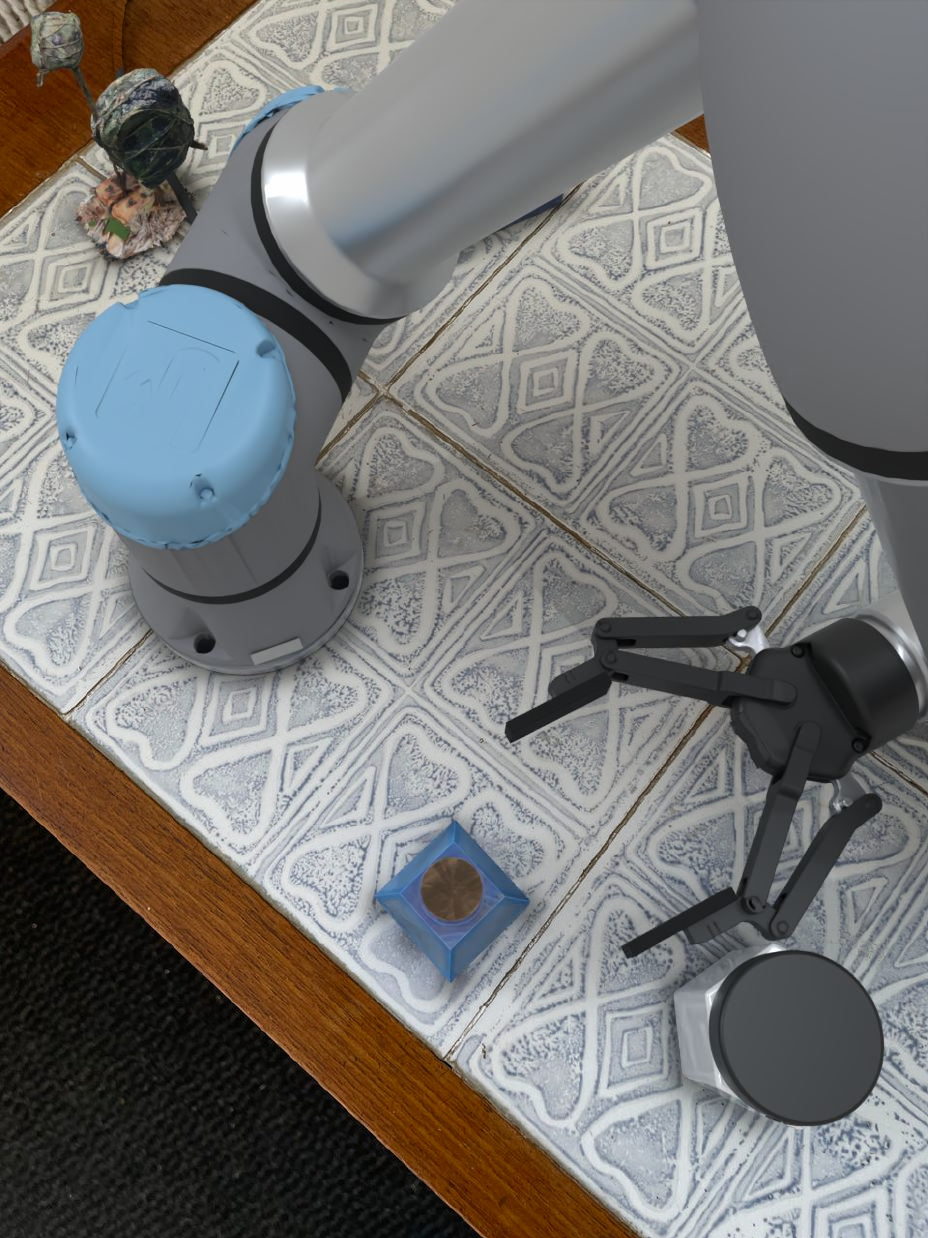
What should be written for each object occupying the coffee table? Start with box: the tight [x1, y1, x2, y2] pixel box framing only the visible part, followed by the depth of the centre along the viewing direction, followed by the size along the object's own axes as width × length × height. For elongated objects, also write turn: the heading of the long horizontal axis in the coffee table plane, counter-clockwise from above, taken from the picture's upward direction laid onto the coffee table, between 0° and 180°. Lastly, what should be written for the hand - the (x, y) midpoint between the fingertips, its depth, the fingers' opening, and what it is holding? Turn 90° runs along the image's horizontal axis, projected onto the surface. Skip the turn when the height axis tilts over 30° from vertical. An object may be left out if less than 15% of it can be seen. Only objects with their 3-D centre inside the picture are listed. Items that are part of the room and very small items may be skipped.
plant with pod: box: [29, 11, 209, 263], centre depth 75 cm, size 8×11×20 cm
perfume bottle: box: [373, 819, 532, 984], centre depth 62 cm, size 6×6×12 cm
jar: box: [672, 942, 885, 1131], centre depth 60 cm, size 9×8×12 cm
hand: (564, 839), depth 63 cm, fingers open, 13 cm apart
